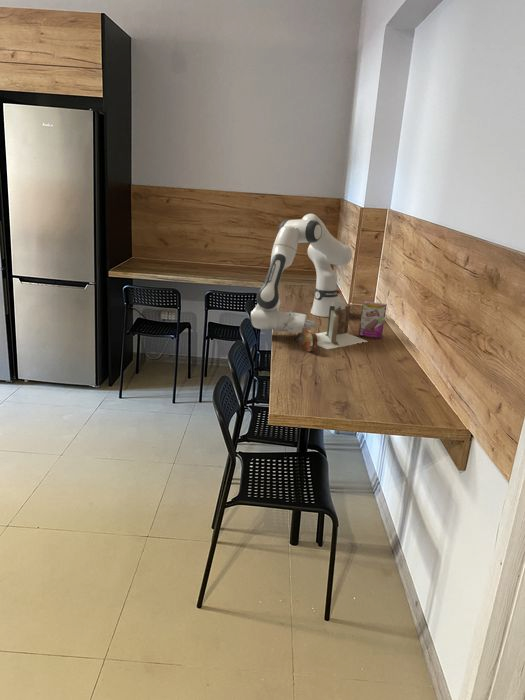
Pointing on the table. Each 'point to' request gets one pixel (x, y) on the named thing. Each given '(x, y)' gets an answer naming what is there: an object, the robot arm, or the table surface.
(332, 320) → the fence panel
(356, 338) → the card
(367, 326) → the candy bar box
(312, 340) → the tin
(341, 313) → the fence
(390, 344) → the table surface
